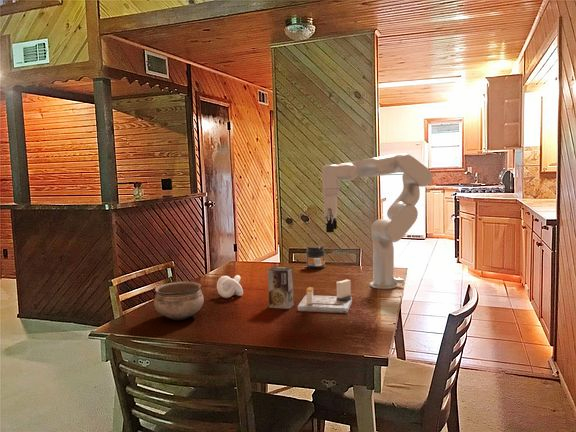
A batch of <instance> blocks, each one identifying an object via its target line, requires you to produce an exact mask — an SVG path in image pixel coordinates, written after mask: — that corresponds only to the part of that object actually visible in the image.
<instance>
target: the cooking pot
mask: <svg viewBox="0 0 576 432" xmlns="http://www.w3.org/2000/svg"><path fill="white" fill-rule="evenodd" d="M201 287H202V284H201V283H199V282H195V281H174V282H169V283H168V282H167V283H164V284H161V285H158V286H157V287H155V292H156V293H155V296H154V301H153V303H154V304H153V305H154V308H155V310H156V312H157V313H159V314H160V315H161V316H163V317H166V318H168V319H170V320H173V321H184V320H187V319H188V318H190V317H192V316H193V315H195V314H196V313H197V312H199V310H201V308H202V307H203V304H204V302H205V300H204V299H205V298H204V294H203V291H202V289H201Z"/></svg>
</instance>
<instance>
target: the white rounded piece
mask: <svg viewBox="0 0 576 432" xmlns="http://www.w3.org/2000/svg"><path fill="white" fill-rule="evenodd" d="M241 279H242V278H241V276H240V275H238V274H236V275H234V277H233V278H231V276H229V275H222V276H221V277H219V278H218V280H217V282H216V289H217V292H218V295H220V297H222V298H225V299H228V298H231V297H232V296H233V295H234V294H235V295H236V296H238V297H241V296H243V294H244V290H243V287H242V285H241V284H240V282H241Z"/></svg>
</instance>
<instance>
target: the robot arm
mask: <svg viewBox="0 0 576 432" xmlns="http://www.w3.org/2000/svg"><path fill="white" fill-rule="evenodd" d="M395 173H397V174H398V173H402V176H401V177H402V184H403V187H402V191H401V193H400V194H399V196H398V197H397V198H396V199H395V200H394V202H393V203H392V204H391V205H390V206H389V207H388V209H387V211H386V215H387V218H388V219H385V218H380V219H379V218H378V219H377V220H375V221H374V222H373V223H372V224H371V227H370V235H371V240H372V241H371V242H372V275H373V277H372V281H371V282H370V283H369V286H370V287H371V288H374V289H379V290H388V289H389V290H391V289H394V288H397V287H398V284H404V278H400V277H398V278H397V277H395V273H394V272H395V269H394V267H395V265H394V264H395V263H394V262H395V259H394V256H395V255H394V254H395V253H394V251H395V250H394V243H397V242H399V241H401V239H403V237H405V235H406V234H407V233H408V232H409V231H410V229H411V228H412V227H413V226H414V224H415V222H416V221H417V219H418V214H419V212H418V208H417V207H416V205H417V203H418V202H419V200H420V197H421V196H420V195H421V193H420V188H421V187H427V186H429V185H430V184H431V183H432V181H433V174H432V172H431V170H430V169H429V168H428V167H427V166H426V165H424V164H423V163H422V162H420V160H419V159H417V158H415V157H414V156H412V155H411V154H408V153H395V154H388V155H384V156H383V155H382V156H377V157H372V158H371V157H370V158H366V159H361V160H360V159H359V160H355V161H349V162H348V161H347V162H343V163H339V164H324V165H322V167H321V178H322V179H321V180H322V181H321V182H322V197H324V198H323V199H324V200H323V218H324V219H325V220H326V224H325V226H326V227H325V229H326V233H334V232H335V230H337V229H338V223H337V222H338V221H337V216H338V197H339V196H340V181H346V182H347V181H354V180H355V179H356V178H371V177H380V176H385V175H386V176H387V175H391V174H395Z"/></svg>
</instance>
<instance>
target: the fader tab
mask: <svg viewBox="0 0 576 432" xmlns="http://www.w3.org/2000/svg"><path fill="white" fill-rule="evenodd" d="M305 290H306V291H305V292H306V295H307V304H312V303H313V301H314V296H313V295H314V287H311V286H309V287H307V288H306V289H305Z"/></svg>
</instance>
